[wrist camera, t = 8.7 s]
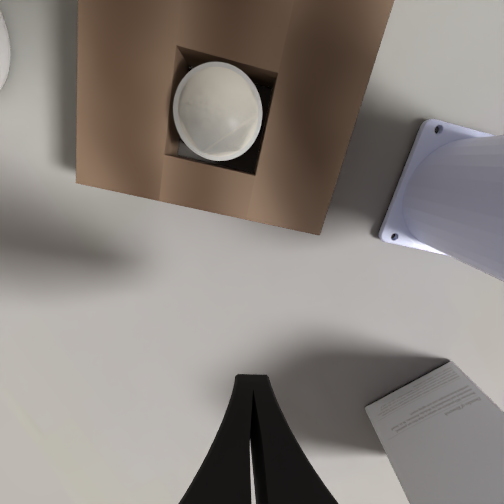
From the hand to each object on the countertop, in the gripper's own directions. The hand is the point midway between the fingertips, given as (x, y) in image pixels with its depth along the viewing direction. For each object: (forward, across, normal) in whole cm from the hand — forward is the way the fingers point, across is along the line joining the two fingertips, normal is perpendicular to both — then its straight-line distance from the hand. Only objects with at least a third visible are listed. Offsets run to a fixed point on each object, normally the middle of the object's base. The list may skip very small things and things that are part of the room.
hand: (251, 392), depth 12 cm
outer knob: (+9, +2, -11) cm, 15 cm away
